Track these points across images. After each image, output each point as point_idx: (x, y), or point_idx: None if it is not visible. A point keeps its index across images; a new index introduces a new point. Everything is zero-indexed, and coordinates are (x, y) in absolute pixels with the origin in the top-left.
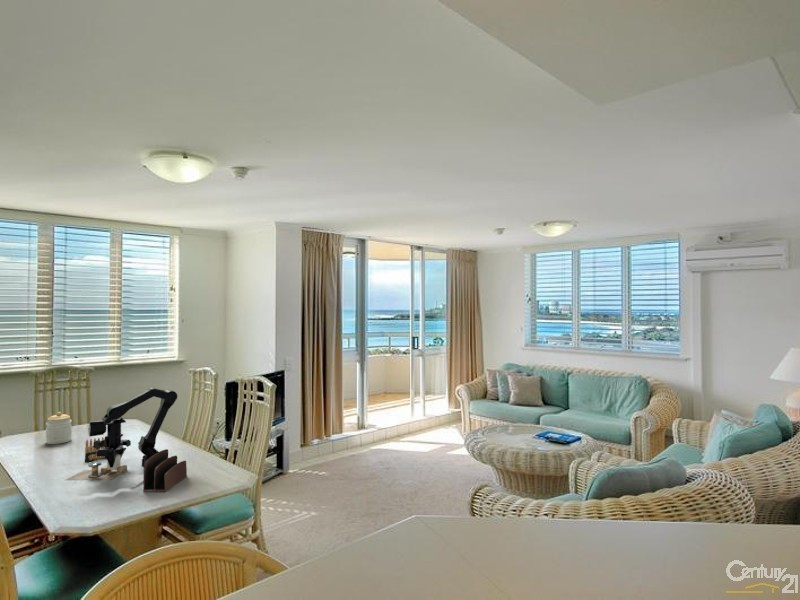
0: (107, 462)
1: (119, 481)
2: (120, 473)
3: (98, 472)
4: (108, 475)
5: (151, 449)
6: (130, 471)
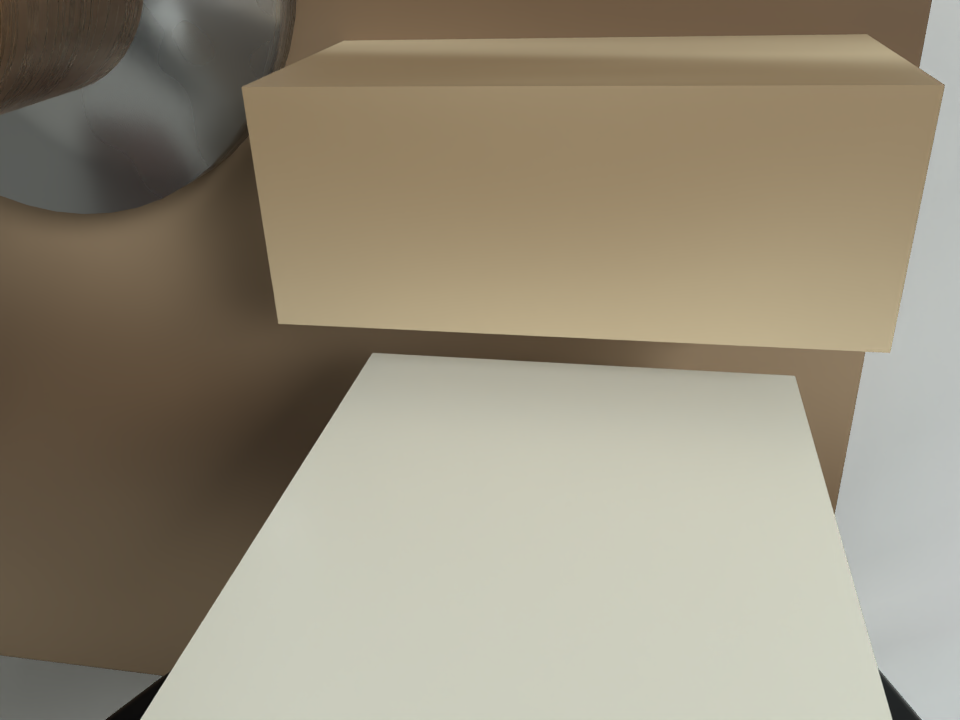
0: (227, 606)
1: None
2: None
3: None
4: (201, 448)
5: None
6: (914, 696)
